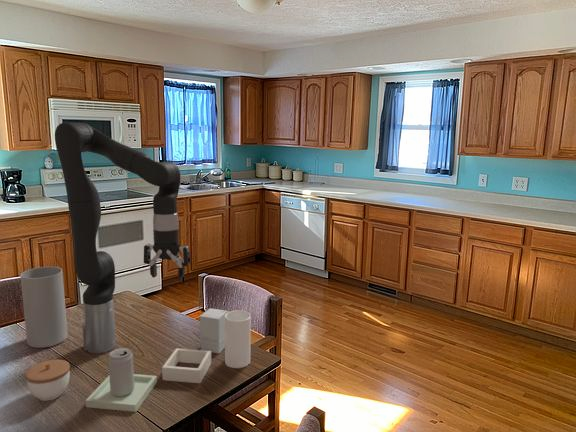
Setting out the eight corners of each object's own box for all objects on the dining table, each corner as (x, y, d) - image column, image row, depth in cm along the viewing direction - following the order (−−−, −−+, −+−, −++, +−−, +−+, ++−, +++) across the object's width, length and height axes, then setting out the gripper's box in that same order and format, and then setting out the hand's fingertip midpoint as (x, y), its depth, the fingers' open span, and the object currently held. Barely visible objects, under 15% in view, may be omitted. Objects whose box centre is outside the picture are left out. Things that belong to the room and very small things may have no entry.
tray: (86, 407, 116) (85, 400, 116) (112, 378, 130) (112, 372, 129) (135, 411, 115) (135, 405, 114) (157, 382, 128) (156, 375, 128)
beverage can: (126, 399, 118) (124, 359, 116) (105, 396, 120) (103, 356, 117) (139, 386, 125) (137, 348, 122) (119, 383, 126) (116, 345, 123)
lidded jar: (30, 388, 124) (27, 358, 122) (72, 380, 128) (70, 351, 127) (25, 410, 114) (22, 377, 113) (70, 400, 119) (68, 369, 117)
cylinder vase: (45, 352, 144) (38, 280, 139) (18, 344, 148) (11, 275, 144) (75, 336, 155) (70, 269, 150) (50, 329, 160) (44, 264, 155)
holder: (162, 380, 129) (162, 367, 129) (176, 360, 141) (176, 348, 140) (200, 383, 128) (200, 370, 127) (211, 362, 140) (211, 350, 139)
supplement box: (229, 344, 152) (228, 310, 149) (219, 354, 145) (218, 319, 143) (210, 340, 154) (210, 307, 152) (199, 350, 147) (199, 315, 145)
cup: (225, 355, 144) (225, 310, 141) (250, 354, 145) (250, 310, 142) (224, 368, 136) (223, 321, 133) (250, 367, 137) (250, 320, 134)
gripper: (138, 228, 130) (140, 280, 133) (184, 231, 128) (185, 282, 131) (148, 223, 137) (150, 272, 140) (192, 225, 135) (193, 274, 139)
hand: (167, 277), depth 136 cm, fingers open, 8 cm apart
